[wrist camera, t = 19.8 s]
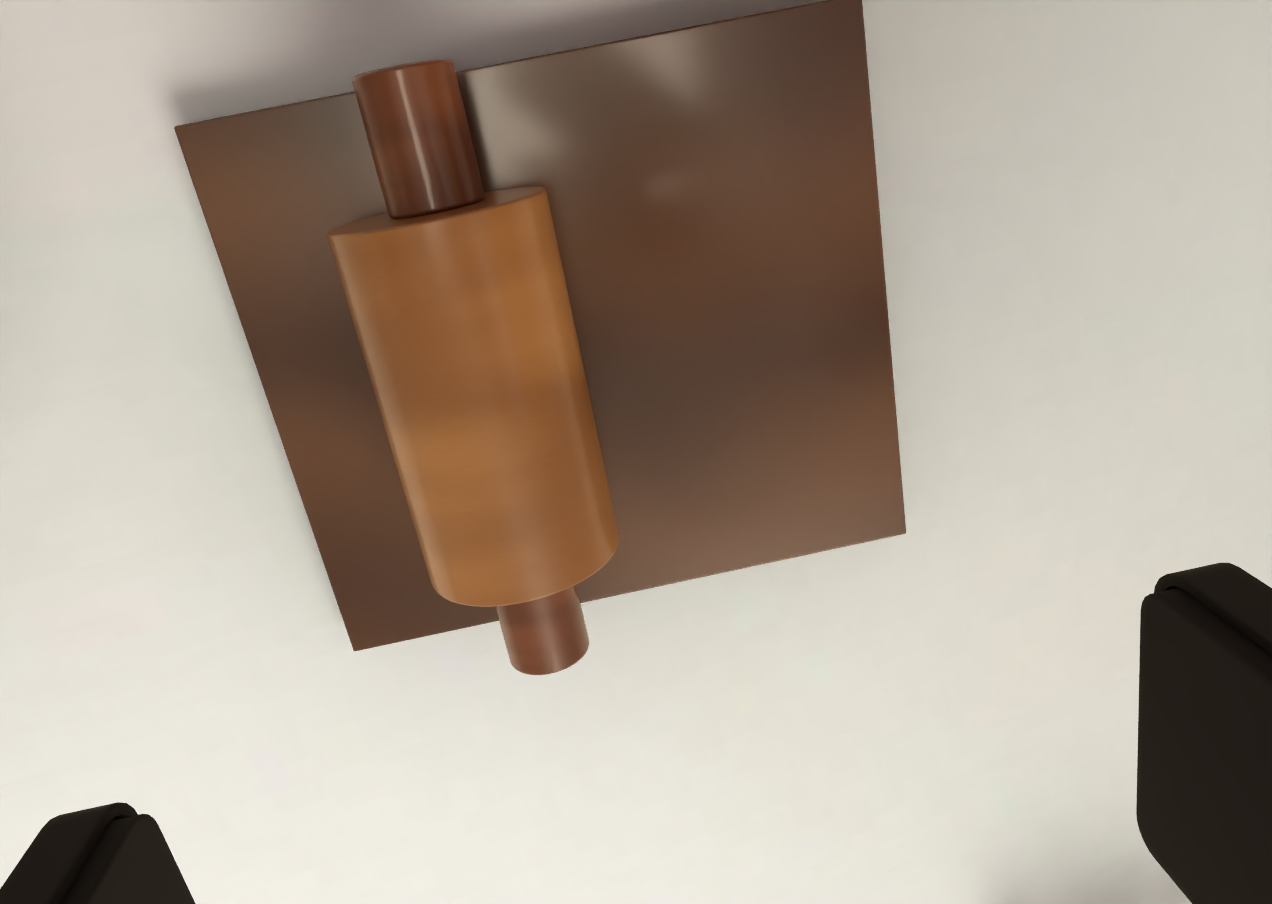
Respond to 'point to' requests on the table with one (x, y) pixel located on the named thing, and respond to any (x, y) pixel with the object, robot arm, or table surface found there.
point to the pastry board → (607, 299)
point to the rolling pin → (476, 370)
